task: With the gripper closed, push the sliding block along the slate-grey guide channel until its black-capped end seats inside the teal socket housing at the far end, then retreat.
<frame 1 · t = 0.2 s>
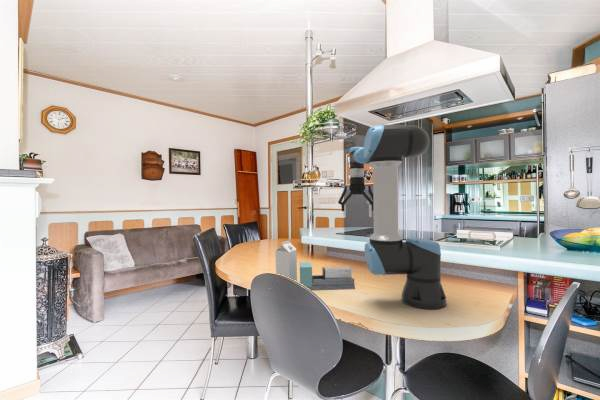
hand: (357, 217, 158), 28 cm above the table, fingers open, 13 cm apart
milk carton: (286, 283, 137), on the table
sliding block: (336, 275, 130), point 5 cm above the table, slide at 0.0 cm
socket housing: (305, 274, 130), point 6 cm above the table
guide channel: (326, 286, 130), on the table
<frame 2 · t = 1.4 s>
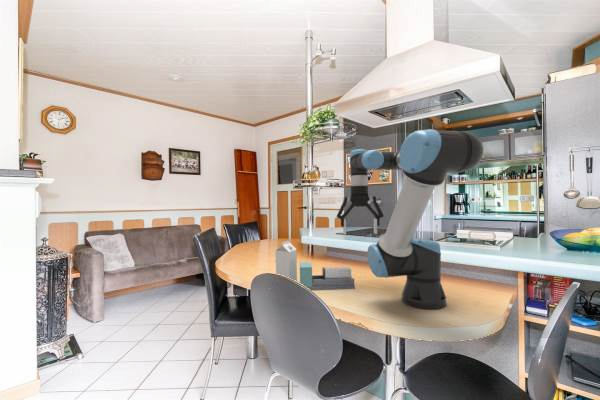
hand: (360, 233, 131), 23 cm above the table, fingers open, 13 cm apart
nothing on the table moved.
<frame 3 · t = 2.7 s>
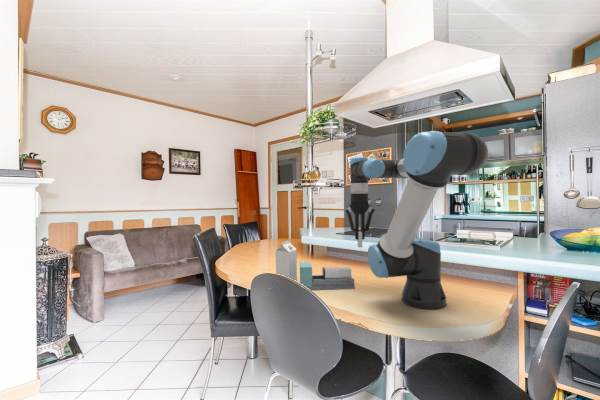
hand: (359, 246, 131), 17 cm above the table, fingers closed
nothing on the table moved.
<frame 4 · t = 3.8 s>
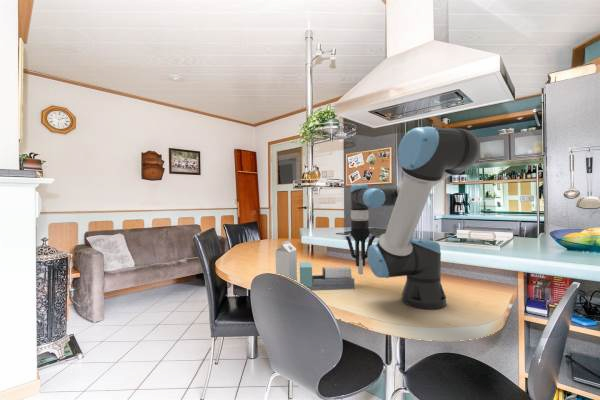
hand: (360, 273, 131), 5 cm above the table, fingers closed
nothing on the table moved.
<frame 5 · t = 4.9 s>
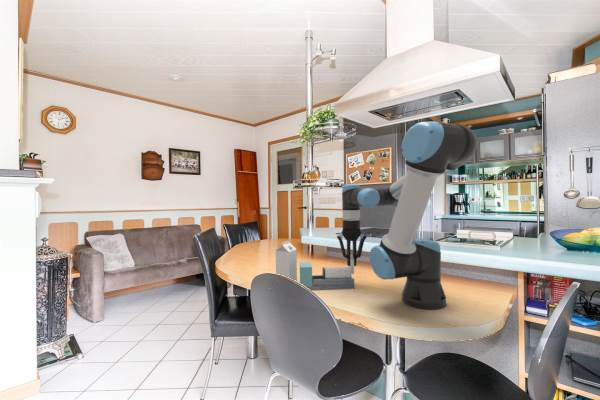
hand: (351, 273, 131), 5 cm above the table, fingers closed
sliding block: (336, 275, 130), point 5 cm above the table, slide at 0.0 cm, touching gripper
everything else where it was.
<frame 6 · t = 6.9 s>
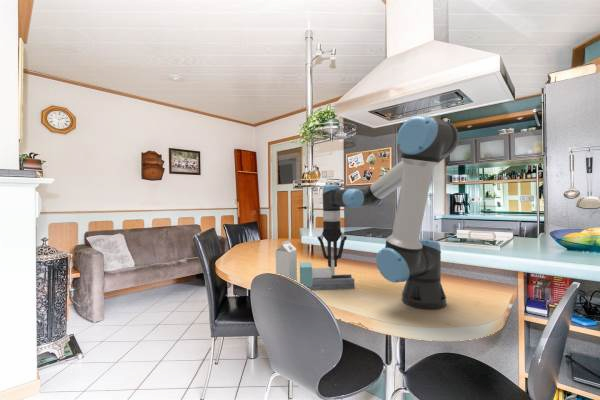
hand: (332, 274, 130), 5 cm above the table, fingers closed
sliding block: (317, 275, 130), point 5 cm above the table, slide at 8.5 cm, touching gripper
everything else where it was.
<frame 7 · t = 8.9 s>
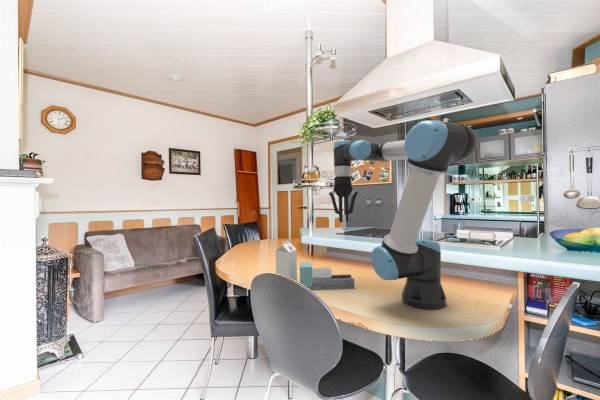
hand: (343, 229, 132), 24 cm above the table, fingers closed
sliding block: (317, 275, 130), point 5 cm above the table, slide at 8.5 cm
everything else where it was.
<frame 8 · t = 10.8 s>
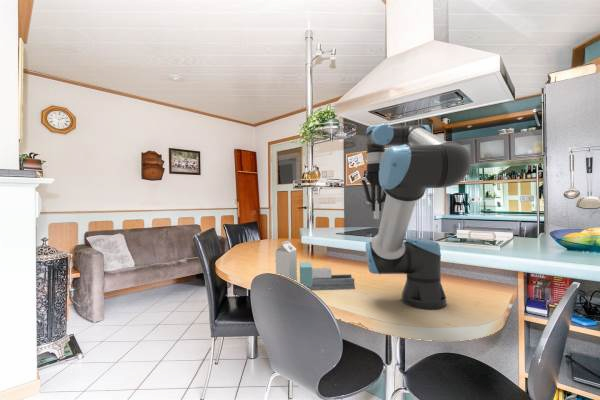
hand: (376, 218, 127), 29 cm above the table, fingers closed
nothing on the table moved.
at the end: sliding block slide at 8.5 cm; the gripper is holding nothing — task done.
